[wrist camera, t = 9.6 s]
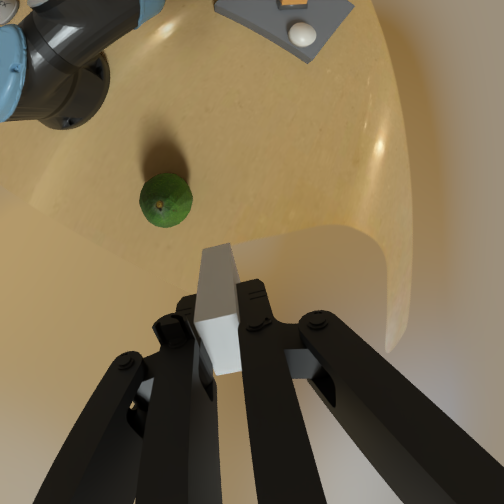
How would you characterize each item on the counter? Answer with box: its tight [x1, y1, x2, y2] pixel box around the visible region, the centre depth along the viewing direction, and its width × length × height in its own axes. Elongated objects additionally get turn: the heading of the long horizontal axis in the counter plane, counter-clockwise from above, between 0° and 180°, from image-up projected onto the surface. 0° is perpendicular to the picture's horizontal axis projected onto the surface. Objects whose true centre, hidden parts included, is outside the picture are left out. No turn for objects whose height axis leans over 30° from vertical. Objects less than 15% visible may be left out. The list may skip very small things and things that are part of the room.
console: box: [214, 0, 355, 64], centre depth 33 cm, size 18×15×3 cm
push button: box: [287, 23, 316, 48], centre depth 34 cm, size 4×4×2 cm
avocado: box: [139, 173, 193, 228], centre depth 40 cm, size 8×8×12 cm
